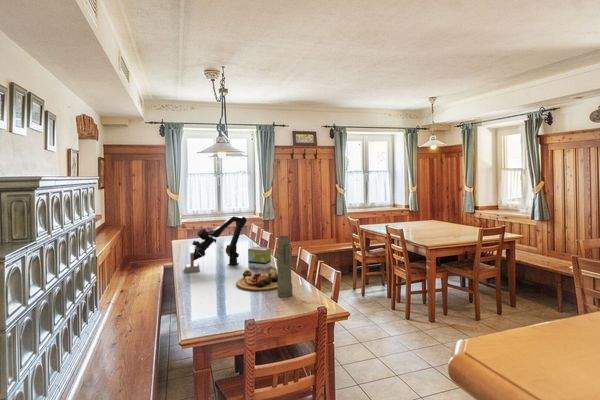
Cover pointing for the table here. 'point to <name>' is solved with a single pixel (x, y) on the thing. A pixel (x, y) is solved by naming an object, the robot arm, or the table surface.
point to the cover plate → (191, 261)
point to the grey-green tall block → (284, 267)
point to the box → (192, 269)
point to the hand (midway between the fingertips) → (192, 259)
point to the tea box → (259, 257)
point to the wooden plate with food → (258, 281)
